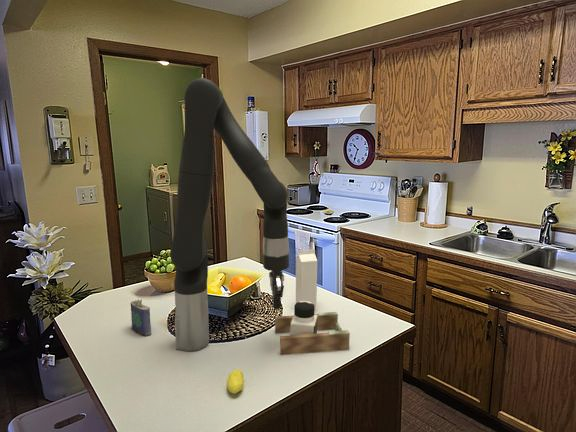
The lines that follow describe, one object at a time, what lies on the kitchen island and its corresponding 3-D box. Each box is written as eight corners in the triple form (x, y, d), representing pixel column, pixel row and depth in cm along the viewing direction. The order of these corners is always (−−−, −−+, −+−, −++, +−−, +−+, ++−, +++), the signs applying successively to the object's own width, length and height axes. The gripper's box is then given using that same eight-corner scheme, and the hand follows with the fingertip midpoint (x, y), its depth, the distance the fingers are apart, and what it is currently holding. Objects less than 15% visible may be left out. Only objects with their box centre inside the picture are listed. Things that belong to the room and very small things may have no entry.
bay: (280, 355, 110) (280, 337, 109) (275, 331, 123) (275, 315, 122) (349, 349, 113) (349, 332, 112) (335, 327, 126) (336, 311, 125)
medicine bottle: (313, 348, 114) (314, 309, 111) (290, 345, 115) (290, 307, 113) (317, 336, 121) (317, 299, 118) (294, 333, 122) (294, 297, 120)
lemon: (246, 378, 99) (246, 364, 98) (241, 399, 91) (241, 384, 91) (230, 378, 99) (229, 364, 99) (224, 398, 92) (223, 383, 91)
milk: (316, 311, 138) (318, 251, 134) (300, 313, 136) (301, 253, 132) (310, 304, 144) (312, 247, 139) (295, 306, 142) (296, 248, 138)
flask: (153, 334, 121) (150, 302, 119) (144, 337, 119) (142, 305, 117) (137, 325, 127) (135, 294, 125) (129, 328, 125) (126, 297, 123)
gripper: (260, 246, 117) (262, 300, 120) (265, 259, 104) (266, 319, 108) (285, 244, 118) (286, 298, 121) (292, 257, 105) (293, 317, 109)
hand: (277, 308), depth 114 cm, fingers closed
